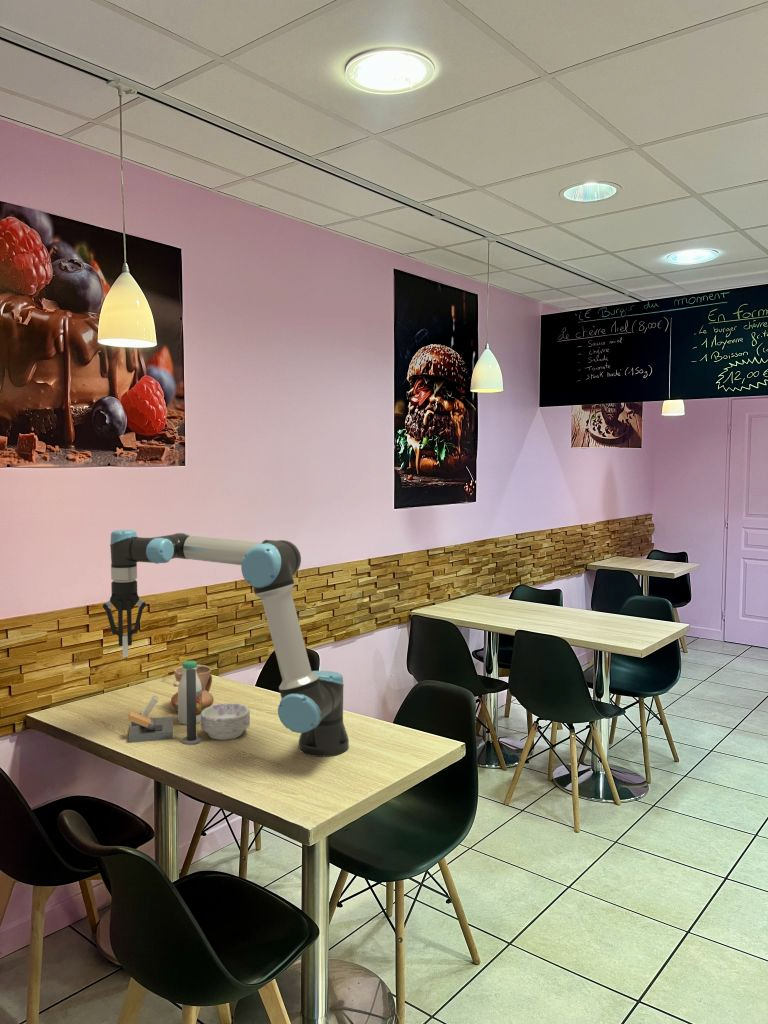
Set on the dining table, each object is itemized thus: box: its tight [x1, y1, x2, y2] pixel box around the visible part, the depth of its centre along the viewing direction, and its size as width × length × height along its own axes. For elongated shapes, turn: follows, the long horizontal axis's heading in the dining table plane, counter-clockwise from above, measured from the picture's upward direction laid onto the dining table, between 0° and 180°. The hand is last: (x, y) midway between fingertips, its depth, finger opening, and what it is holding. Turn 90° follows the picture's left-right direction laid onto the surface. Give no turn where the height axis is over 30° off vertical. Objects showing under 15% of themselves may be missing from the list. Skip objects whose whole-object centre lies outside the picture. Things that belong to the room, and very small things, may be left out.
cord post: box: [181, 669, 203, 746], centre depth 233 cm, size 6×6×22 cm
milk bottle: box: [177, 660, 203, 726], centre depth 251 cm, size 8×8×20 cm
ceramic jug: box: [170, 664, 215, 711], centre depth 265 cm, size 18×14×14 cm
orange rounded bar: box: [127, 710, 155, 730], centre depth 237 cm, size 5×2×8 cm
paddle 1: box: [139, 694, 159, 718], centre depth 244 cm, size 5×2×8 cm
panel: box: [128, 716, 174, 743], centre depth 241 cm, size 14×13×3 cm
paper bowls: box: [200, 702, 251, 741], centre depth 239 cm, size 15×15×8 cm
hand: (125, 656), depth 234 cm, fingers closed
